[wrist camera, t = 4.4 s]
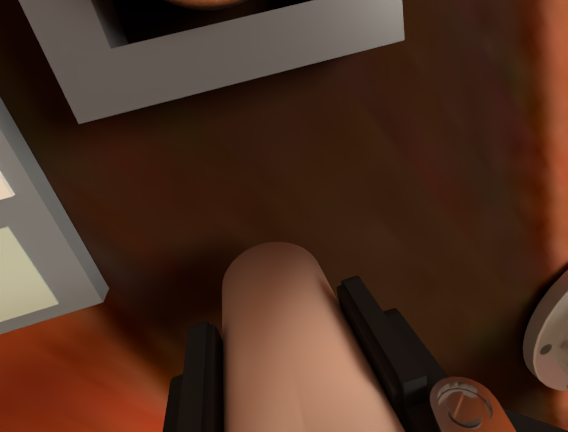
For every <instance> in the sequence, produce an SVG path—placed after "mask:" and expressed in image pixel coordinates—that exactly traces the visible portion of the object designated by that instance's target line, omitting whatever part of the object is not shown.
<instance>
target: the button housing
mask: <svg viewBox="0 0 568 432" xmlns="http://www.w3.org/2000/svg"><path fill="white" fill-rule="evenodd" d="M19 2H20V4H21V6H22V8H23V11H24V13H25V15H26V17H27V19H28V21H29V23H30V25H31V27H32V29H33V31H34V33H35V35H36V37H37V39H38V41H39V43H40V45H41V48H42V50H43V52H44V54H45V56H46V58H47V60H48V62H49V64H50V66H51V68H52V70H53V72H54V74H55V76H56V78H57V80H58V82H59V85H60V87H61V89H62V91H63V93H64V95H65V97H66V99H67V101H68V103H69V105H70V107H71V109H72V111H73V113H74V115H75V117H76V119H77V122H78V124H81V123H85V122H89V121H93V120H97V119H100V118H104V117H108V116H112V115H116V114H120V113H124V112H128V111H131V110H135V109H139V108H143V107H147V106H151V105H155V104H159V103H162V102H166V101H170V100H174V99H178V98H182V97H186V96H190V95H193V94H197V93H201V92H205V91H209V90H213V89H217V88H220V87H224V86H228V85H232V84H236V83H240V82H244V81H248V80H251V79H255V78H259V77H263V76H267V75H271V74H275V73H279V72H282V71H286V70H290V69H294V68H298V67H302V66H306V65H310V64H313V63H317V62H321V61H325V60H329V59H333V58H337V57H341V56H344V55H348V54H352V53H356V52H360V51H364V50H368V49H371V48H375V47H379V46H383V45H387V44H391V43H395V42H399V41H402V40H404V24H403V8H402V0H313V1H308V2H304V3H300V4H296V5H292V6H287V7H283V8H279V9H275V10H271V11H267V12H262V13H258V14H254V15H250V16H246V17H241V18H237V19H233V20H229V21H225V22H221V23H216V24H212V25H208V26H204V27H200V28H195V29H191V30H187V31H183V32H179V33H175V34H170V35H166V36H162V37H158V38H154V39H149V40H145V41H141V42H137V43H133V44H129V43H128V41H127V38H126V36H125V33H124V30H123V28H122V25H121V23H120V20H119V17H118V15H117V12H116V9H115V7H114V4H113V2H112V0H19Z"/></svg>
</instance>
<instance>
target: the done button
mask: <svg viewBox="0 0 568 432" xmlns="http://www.w3.org/2000/svg"><path fill="white" fill-rule="evenodd" d="M164 1H167V2H169V3H171V4H174V5H177V6H181V7H184V8H188V9H195V10H220V9H227V8H230V7H233V6H237V5H240V4H242V3H244V2H246V1H248V0H164Z"/></svg>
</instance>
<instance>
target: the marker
mask: <svg viewBox="0 0 568 432" xmlns="http://www.w3.org/2000/svg"><path fill="white" fill-rule="evenodd" d="M222 336H223V414H224V432H405V430H404V428H403V426H402V425H401V423H400V421H399V419H398V417H397V415H396V413H395V411H394V409H393V408H392V406H391V404H390V402H389V400H388V398H387V396H386V394H385V392H384V390H383V388H382V386H381V384H380V382H379V380H378V378H377V376H376V375H375V373H374V371H373V369H372V367H371V365H370V363H369V361H368V359H367V357H366V355H365V353H364V351H363V349H362V347H361V345H360V344H359V342H358V340H357V338H356V336H355V334H354V332H353V330H352V328H351V326H350V324H349V322H348V320H347V318H346V316H345V314H344V313H343V311H342V309H341V307H340V305H339V303H338V301H337V299H336V297H335V295H334V293H333V291H332V289H331V287H330V285H329V283H328V281H327V279H326V277H325V275H324V274H323V272H322V270H321V268H320V266H319V264H318V262H317V261H316V259H315V258H314V257H313V256H312V254H311V253H309V252H308V251H307V250H305V249H304V248H302V247H300V246H298V245H295V244H292V243H288V242H267V243H263V244H259V245H256V246H254V247H252V248H250V249H248V250H246V251H244V252H243V253H241V254H240V255H239V256H238V257H237V258H236V259H235V260H234V261H233V262H232V263H231V265H230V266H229V267H228V269H227V271H226V273H225V276H224V278H223V283H222Z"/></svg>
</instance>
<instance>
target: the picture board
mask: <svg viewBox="0 0 568 432" xmlns="http://www.w3.org/2000/svg"><path fill="white" fill-rule="evenodd" d="M108 290H109V288H108V286H107V284H106V282H105V280H104V279H103V277H102V275H101V273H100V272H99V270H98V268H97V266H96V265H95V263H94V261H93V259H92V258H91V256H90V254H89V252H88V251H87V249H86V247H85V245H84V244H83V242H82V240H81V238H80V236H79V235H78V233H77V231H76V229H75V228H74V226H73V224H72V222H71V221H70V219H69V217H68V215H67V214H66V212H65V210H64V208H63V207H62V205H61V203H60V201H59V200H58V198H57V196H56V194H55V192H54V191H53V189H52V187H51V185H50V184H49V182H48V180H47V178H46V177H45V175H44V173H43V171H42V170H41V168H40V166H39V164H38V163H37V161H36V159H35V157H34V156H33V154H32V152H31V150H30V148H29V147H28V145H27V143H26V141H25V140H24V138H23V136H22V134H21V133H20V131H19V129H18V127H17V126H16V124H15V122H14V120H13V119H12V117H11V115H10V113H9V112H8V110H7V108H6V106H5V105H4V103H3V101H2V99H1V97H0V334H3V333H6V332H10V331H13V330H16V329H19V328H23V327H26V326H29V325H32V324H35V323H39V322H42V321H45V320H48V319H51V318H55V317H58V316H61V315H64V314H68V313H71V312H74V311H77V310H80V309H84V308H87V307H90V306H93V305H97V304H100V303H103V301H104V299H105V297H106V294H107V292H108Z"/></svg>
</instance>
